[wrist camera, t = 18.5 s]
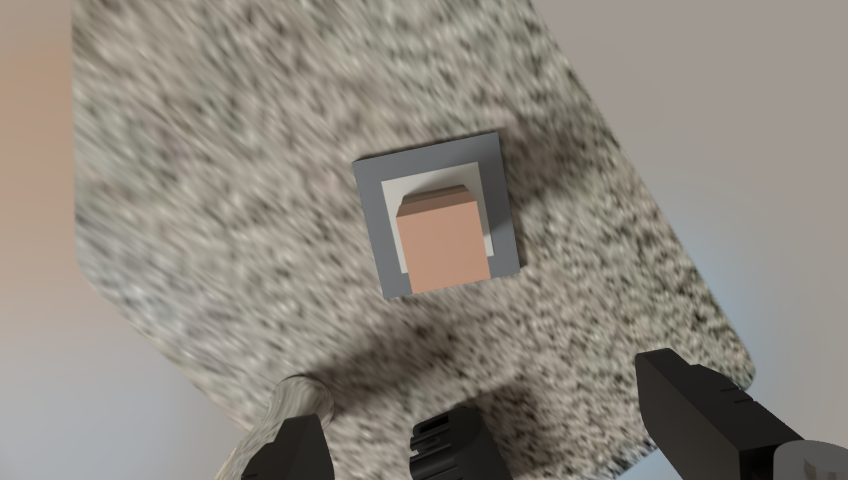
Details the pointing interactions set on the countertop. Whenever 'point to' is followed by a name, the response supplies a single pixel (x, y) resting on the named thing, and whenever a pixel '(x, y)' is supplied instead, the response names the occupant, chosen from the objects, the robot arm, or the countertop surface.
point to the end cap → (456, 449)
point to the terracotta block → (442, 242)
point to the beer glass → (280, 419)
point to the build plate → (433, 170)
